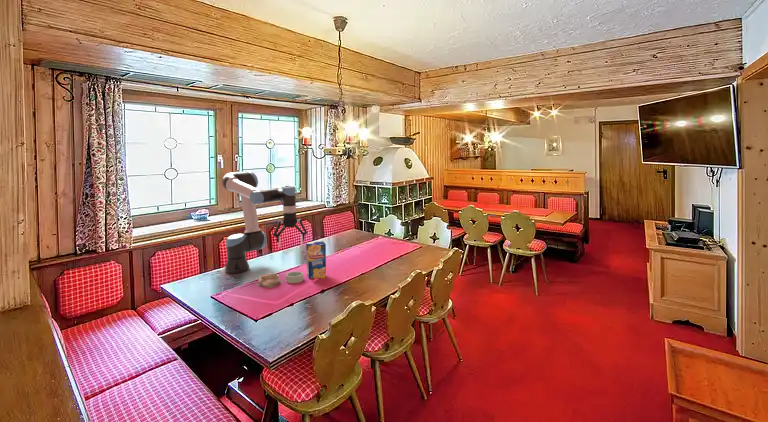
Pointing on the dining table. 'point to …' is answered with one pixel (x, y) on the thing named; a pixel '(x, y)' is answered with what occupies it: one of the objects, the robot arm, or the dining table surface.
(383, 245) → the dining table surface
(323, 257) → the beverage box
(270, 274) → the lid
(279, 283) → the mat
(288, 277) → the bowl
